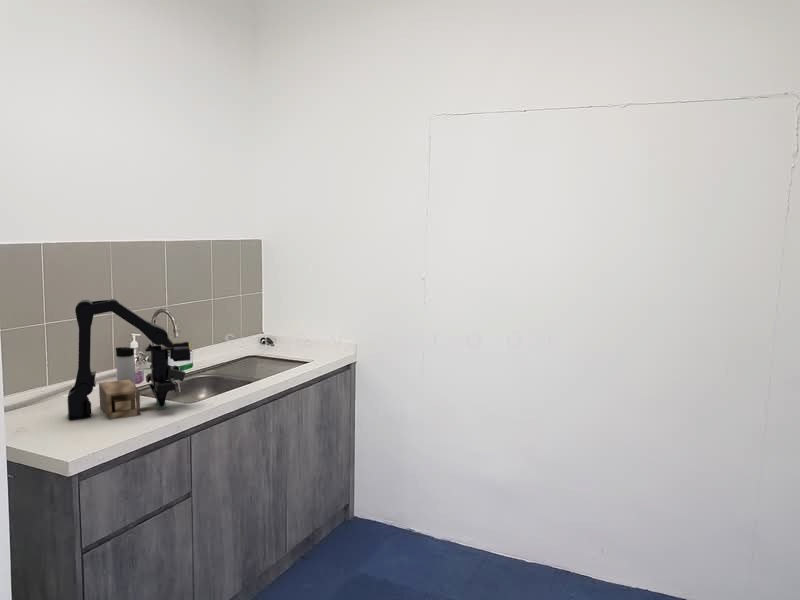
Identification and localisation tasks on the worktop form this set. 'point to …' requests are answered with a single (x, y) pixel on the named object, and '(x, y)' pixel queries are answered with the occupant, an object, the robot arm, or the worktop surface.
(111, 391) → the brown wooden box
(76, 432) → the worktop surface
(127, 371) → the travel mug
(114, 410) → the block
